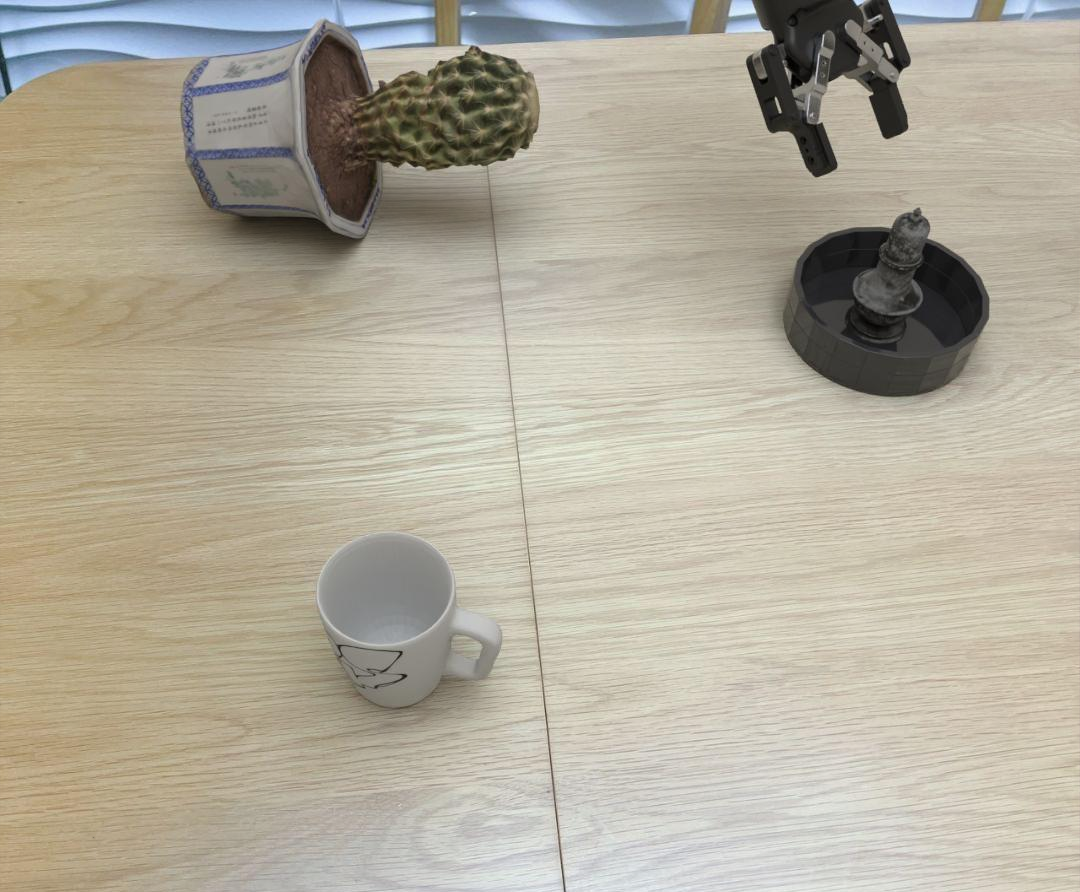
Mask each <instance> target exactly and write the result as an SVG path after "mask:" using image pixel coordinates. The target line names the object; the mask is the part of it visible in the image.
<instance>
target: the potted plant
mask: <svg viewBox="0 0 1080 892" xmlns="http://www.w3.org/2000/svg"><path fill="white" fill-rule="evenodd" d="M540 104H541V103H540V97H539V91H538V86H537V83H536V79H535V74H534V72H532V71H528V72H525V70H524V69H523V67H522V65H521V64H520V63H519V62H518V61H517V59H516V58H511V57H506V56H503V55H501V54H500V55H499V54H495V53H490V52H487V51H483V50H482V49H481V48H480V47H479V46H476V45H473V44H471V45H470V46H469V48H468V50H466V51H464V55H456V56H454V57H451V58H450V59H448V60H439V61H438V62H437V63H436V65H435V67H433V68H430V69H429V70H427V75H425V74H423V73H421V72H418V71H416V70H411V71H408V72H405V73H401V74H399V75H398V76H397V77H396V78H394V79H393V80H391V81H390V82H388V83H387V82H386V81H385V80H383V79H380V80H378V88H377V89H376V90H375V91H374V87H373V83H372V81H371V77H370V74H369V71H368V67H367V64H366V62H365V58H364V55H363V52H362V50H361V46H360V44H359V41H358V40H357V39H356V38H355V37H354V35H353V34H352V33H351V32H349V31H348V30H347V28H345V27H343V26H342V25H340V24H338V23H336V22H333V21H330V20H329V19H328V18H326V17H325V18H319V19H318V20H317V21H316V22H315V23H314V25H313V26H312V27H311V28H310V29H309V31H308V32H307V33H306V34H305V36H304V37H303V38H301V39H299V40H297V41H294V42H292V43H288V44H285V45H281V46H278V47H273V48H268V49H260V50H255V51H251V52H242V53H241V52H240V53H233V54H220V55H215V56H209V57H205V58H203V59H201V60H199V61H198V62H197V63H195V64H194V65H193V66H192V67H191V69H190V71H189V73H188V74H187V76H186V77H185V79H184V81H183V85H182V88H181V92H180V106H179V107H180V108H179V111H180V113H179V114H180V124H181V129H182V133H183V141H182V143H183V148H184V153H185V155H184V163H185V165H186V167H187V169H188V171H189V173H190V176H192V178H193V180H194V181H195V183H196V186H197V188H198V190H199V191H198V192H199V193H200V196H201V199H202V200H203V202H204V203H205V204H206V206H207V207H208V208H209V209H210V211H214V212H217V213H222V214H226V215H229V216H230V215H231V216H236V217H260V218H261V217H263V218H264V217H265V218H272V217H274V218H276V217H288V218H289V217H294V218H312V219H317V220H319V221H321V222H322V223H323V224H324V225H325V226H326V227H327V228H329V229H330V230H331V231H332V232H334V233H337V234H340V235H343V236H345V237H350V238H352V239H358V240H359V239H362V238H364V237H365V236H366V235H367V233H368V230H369V228H370V225H371V222H372V221H373V220H374V216H375V215H374V214H375V211H376V210H378V207H379V204H380V199H381V195H382V191H383V179H384V178H383V177H384V176H383V164H386V163H389V164H390V165H391V166H392V167H394V168H398V169H399V168H400V166H402V165H404V164H405V163H407V164H409V165H410V166H412V168H414V169H415V168H418V167H422V168H424V169H425V170H426V172H431V171H438V170H445V169H449V168H450V167H452V166H455V167H467V166H470V165H471V166H475V167H477V166H479V165H480V166H481V167H488V166H489V165H491V164H494V163H496V162H506V161H507V160H509V159H514V158H515V156H516V153H517V151H518V150H520V149H521V150H525V151H527V150H528V149H529V148H530V144H531V143H533V142H534V135H535V134H536V133H537V132H538V129H539V122H540V112H541V107H540Z"/></svg>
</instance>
